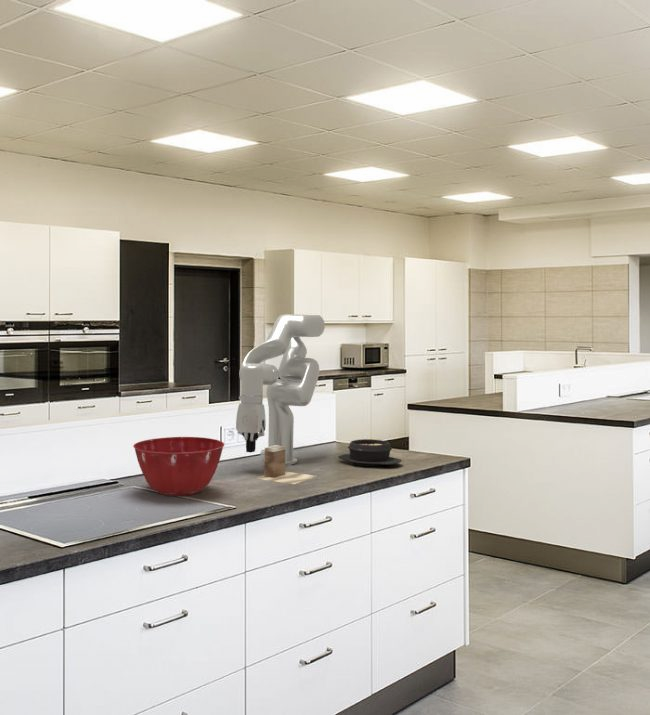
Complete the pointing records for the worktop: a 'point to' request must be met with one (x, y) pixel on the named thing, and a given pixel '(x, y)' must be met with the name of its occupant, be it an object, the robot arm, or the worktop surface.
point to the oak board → (289, 478)
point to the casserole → (370, 453)
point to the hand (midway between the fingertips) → (250, 451)
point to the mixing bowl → (178, 463)
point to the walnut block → (274, 461)
